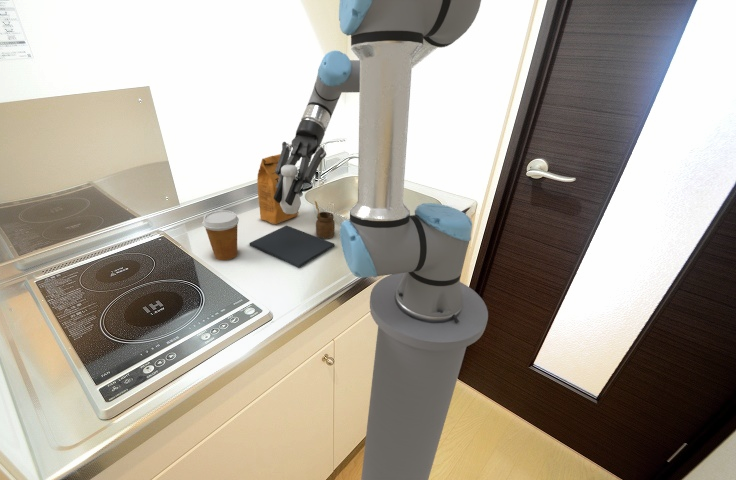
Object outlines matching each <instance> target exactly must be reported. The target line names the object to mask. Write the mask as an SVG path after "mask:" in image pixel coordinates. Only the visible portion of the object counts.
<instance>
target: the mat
mask: <svg viewBox="0 0 736 480" xmlns="http://www.w3.org/2000/svg"><path fill="white" fill-rule="evenodd" d="M335 245H336V244H335V243H334V242H331V241H329V240H327V239H322V238H319V237H318V236H317V235H316V236H315V235H313V234H311V233H308V232H305V231H302V230H300V229H298V228H295V227H292V226H289V225H287V224H286V225H284V226H282V227H280V228H278V229H276V230H273V231H271V232H268V233H267V234H265V235H263V236H261V237H259V238H257V239H254V240H252V241H250V242H249V246H250V247H252V248H254V249H256V250H258V251H260V252H263V253H265V254H266V255H269V256H271V257H273V258H275V259H278V260H280V261H283V262H284V263H287V264H289V265H292V266H293V267H296V268H298V269H300V268H302V267H303V266H305V265H307V264H308V263H310V262H312V261H313V260H315V259H317V258H318V257H320V256H321V255H323V254H324V253H325V254H326V252H328V251H330V250H331V249H333V248H334V247H335Z"/></svg>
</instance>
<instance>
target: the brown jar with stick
mask: <svg viewBox="0 0 736 480" xmlns="http://www.w3.org/2000/svg"><path fill="white" fill-rule="evenodd" d="M331 204H332V205H331ZM314 205H315V208H316V210H317V215H316V221H315V235H316V237H318V238H321V239H324V240H327V239H331V238H333V237H334V236H335V230H336V229H335V227H336V226H335V225H336V223H335V219H334V218H335V216H334V213H333V209H335V206H336V205H335V204H334V202H333V201H330V202H329V203H327V208H326V209H328V210H330V208H331V207H333V209H331V210H330V211H321V212H320V207H319V205H318V202H317V201H316V200H314ZM328 206H329V208H328Z"/></svg>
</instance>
